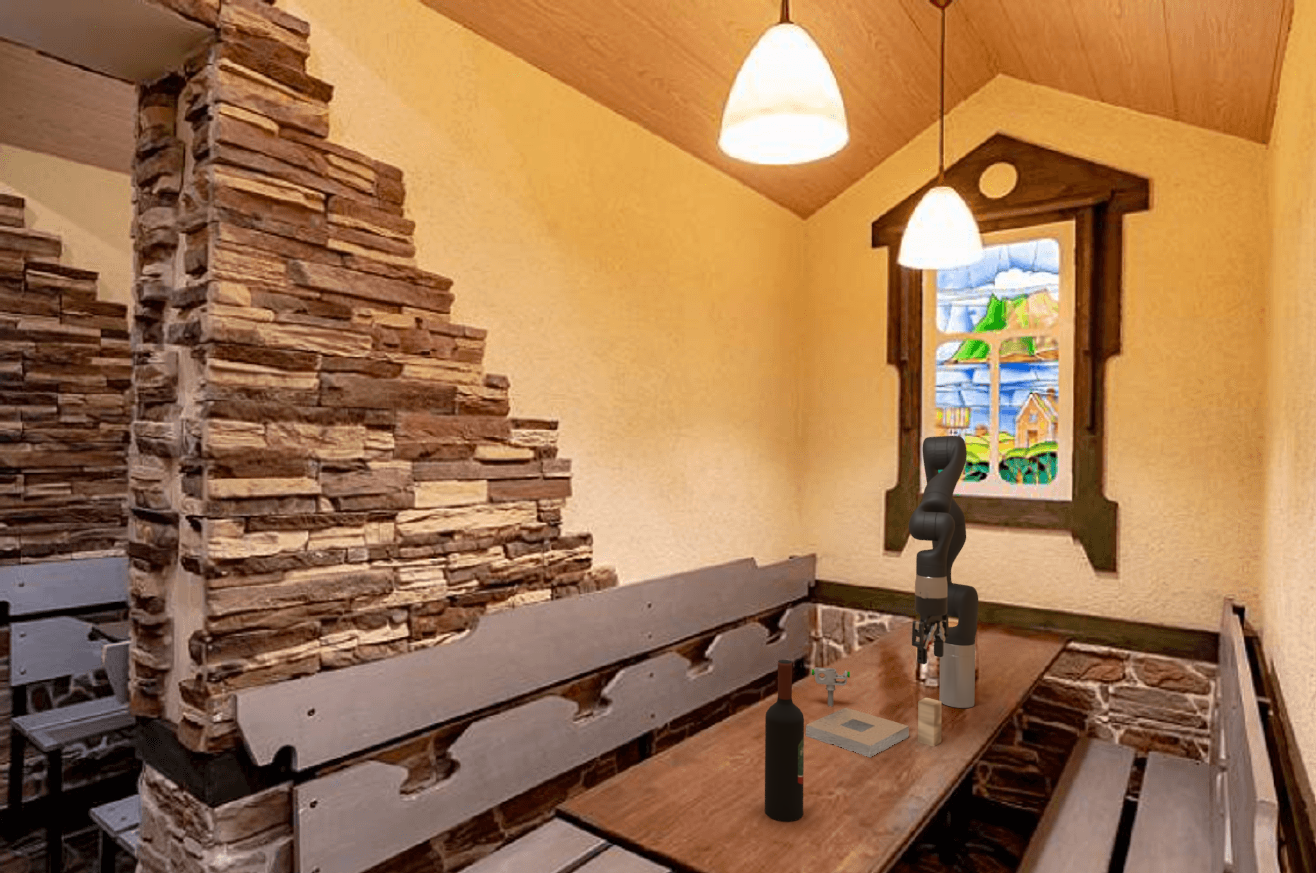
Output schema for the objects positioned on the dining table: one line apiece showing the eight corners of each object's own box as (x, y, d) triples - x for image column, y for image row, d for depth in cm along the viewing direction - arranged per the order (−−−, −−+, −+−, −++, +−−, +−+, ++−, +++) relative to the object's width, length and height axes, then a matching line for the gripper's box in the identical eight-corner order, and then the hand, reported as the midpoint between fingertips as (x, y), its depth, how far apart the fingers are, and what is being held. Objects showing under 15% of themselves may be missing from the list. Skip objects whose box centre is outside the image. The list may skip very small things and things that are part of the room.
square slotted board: (845, 717, 209) (845, 707, 209) (908, 737, 196) (908, 725, 196) (805, 735, 196) (805, 724, 196) (870, 757, 183) (870, 745, 183)
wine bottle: (760, 804, 160) (762, 656, 160) (797, 802, 161) (798, 655, 161) (769, 822, 153) (770, 667, 152) (807, 821, 153) (809, 667, 153)
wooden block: (925, 737, 196) (926, 697, 196) (941, 742, 193) (941, 701, 193) (917, 741, 193) (918, 701, 193) (933, 746, 190) (933, 705, 190)
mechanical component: (849, 709, 216) (850, 672, 215) (811, 706, 218) (811, 670, 217) (849, 705, 218) (849, 669, 218) (811, 702, 220) (811, 666, 220)
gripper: (930, 587, 200) (929, 651, 201) (902, 595, 190) (901, 662, 191) (959, 592, 195) (958, 657, 195) (931, 600, 185) (931, 669, 185)
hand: (930, 659), depth 193 cm, fingers open, 8 cm apart
